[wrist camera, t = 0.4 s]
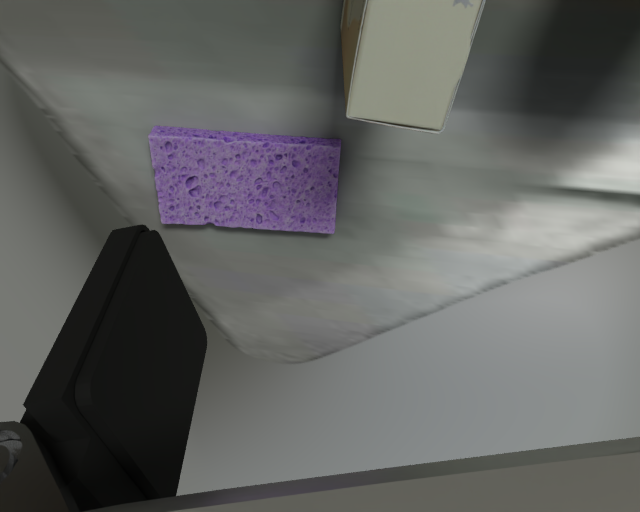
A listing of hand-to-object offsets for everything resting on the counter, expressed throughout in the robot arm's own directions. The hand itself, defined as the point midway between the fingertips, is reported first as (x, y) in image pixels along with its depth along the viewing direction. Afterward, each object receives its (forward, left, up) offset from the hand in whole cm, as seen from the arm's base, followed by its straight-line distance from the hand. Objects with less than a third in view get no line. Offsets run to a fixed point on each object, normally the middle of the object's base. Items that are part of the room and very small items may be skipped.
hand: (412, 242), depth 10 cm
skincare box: (-1, +1, -25) cm, 25 cm away
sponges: (+12, +9, -26) cm, 30 cm away
